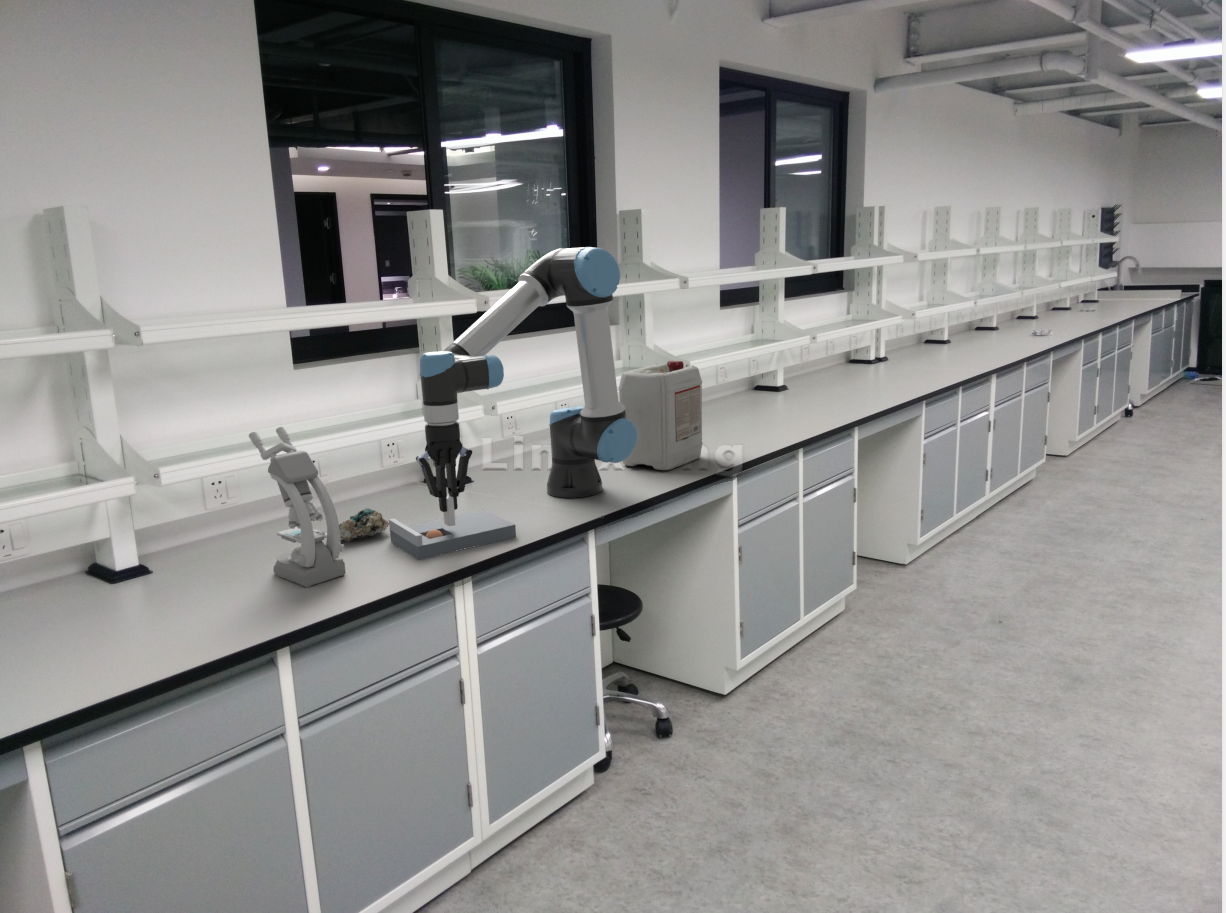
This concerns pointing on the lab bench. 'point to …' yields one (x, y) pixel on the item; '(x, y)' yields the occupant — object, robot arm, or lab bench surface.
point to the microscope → (303, 515)
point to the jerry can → (664, 414)
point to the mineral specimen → (362, 525)
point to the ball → (434, 534)
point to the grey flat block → (450, 534)
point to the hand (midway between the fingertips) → (449, 524)
